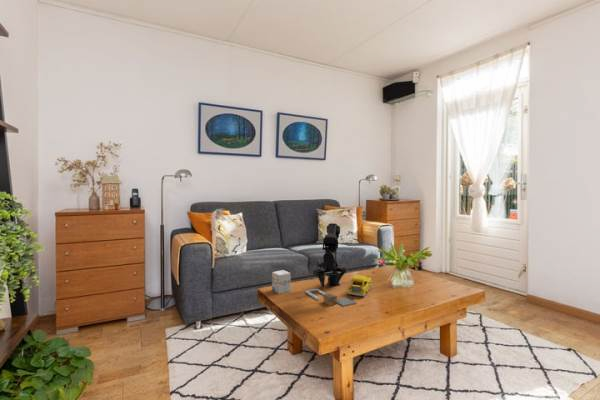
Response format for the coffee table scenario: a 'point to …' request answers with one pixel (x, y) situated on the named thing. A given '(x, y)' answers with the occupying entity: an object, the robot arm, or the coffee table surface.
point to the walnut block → (330, 299)
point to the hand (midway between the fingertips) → (329, 286)
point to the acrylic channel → (314, 292)
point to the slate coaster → (345, 301)
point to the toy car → (359, 285)
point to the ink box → (281, 281)
